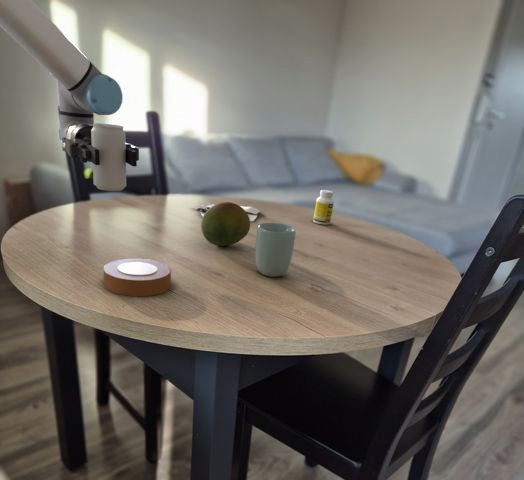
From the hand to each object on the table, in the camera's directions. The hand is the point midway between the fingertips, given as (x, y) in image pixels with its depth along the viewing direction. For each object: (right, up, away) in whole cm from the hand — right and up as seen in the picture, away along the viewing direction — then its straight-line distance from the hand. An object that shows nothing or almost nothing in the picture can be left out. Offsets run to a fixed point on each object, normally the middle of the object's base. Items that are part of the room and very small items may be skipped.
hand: (116, 158), depth 92 cm
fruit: (+18, -11, +27) cm, 34 cm away
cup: (+30, -21, +11) cm, 38 cm away
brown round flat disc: (+5, -24, -2) cm, 25 cm away
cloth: (+17, +6, +58) cm, 61 cm away
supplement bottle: (+47, +3, +61) cm, 77 cm away
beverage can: (-3, -4, +7) cm, 8 cm away
